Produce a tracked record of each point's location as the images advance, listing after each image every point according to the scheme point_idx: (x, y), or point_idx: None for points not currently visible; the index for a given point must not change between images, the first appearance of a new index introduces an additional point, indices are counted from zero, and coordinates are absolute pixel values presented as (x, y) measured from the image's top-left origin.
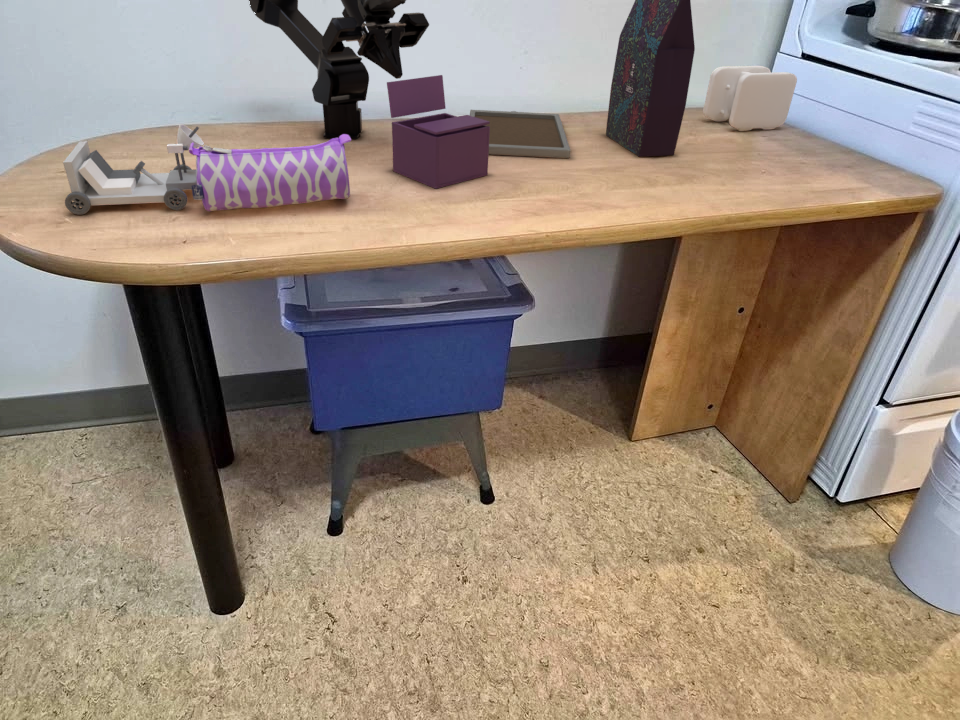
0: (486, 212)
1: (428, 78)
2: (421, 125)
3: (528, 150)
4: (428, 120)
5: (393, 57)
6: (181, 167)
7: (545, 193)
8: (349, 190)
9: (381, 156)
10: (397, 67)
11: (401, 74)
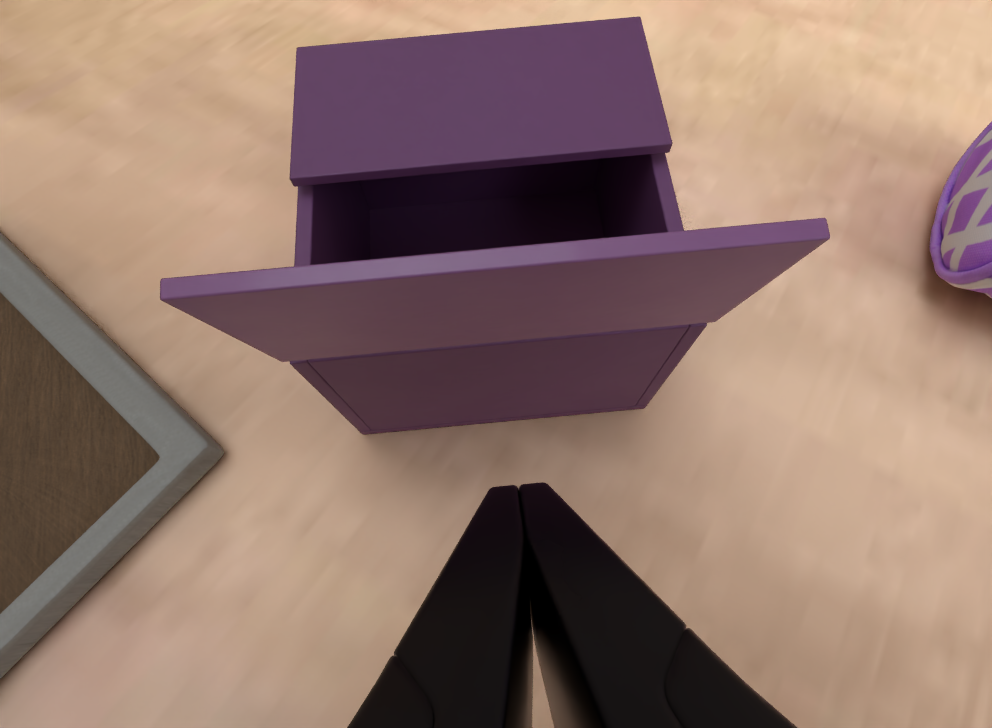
0: (579, 7)
1: (344, 267)
2: (643, 118)
3: (46, 281)
4: None
5: (515, 683)
6: None
7: (338, 32)
8: (971, 145)
9: None
10: (537, 519)
11: (506, 486)
